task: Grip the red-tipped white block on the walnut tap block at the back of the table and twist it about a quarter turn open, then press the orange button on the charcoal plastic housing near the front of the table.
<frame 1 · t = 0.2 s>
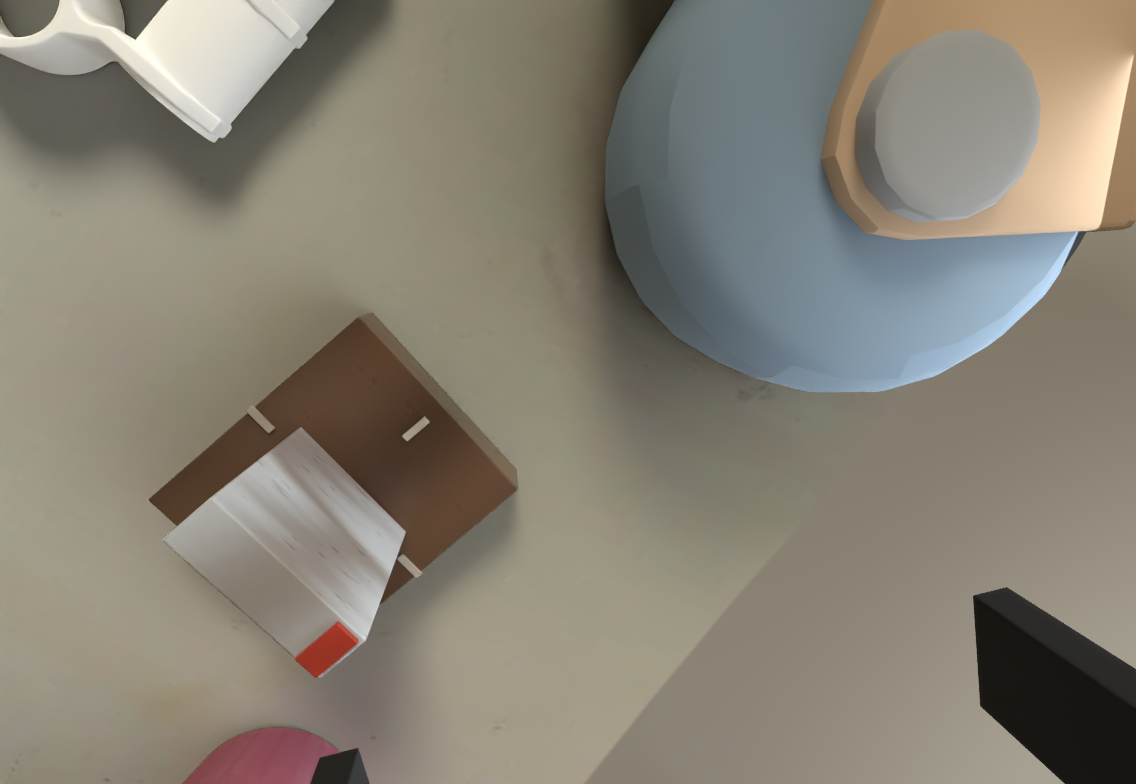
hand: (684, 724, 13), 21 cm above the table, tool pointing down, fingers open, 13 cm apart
red-tipped white block: (307, 536, 25), point 8 cm above the table, hinge at 0.0°
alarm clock: (789, 179, 32), on the table
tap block: (353, 474, 32), on the table
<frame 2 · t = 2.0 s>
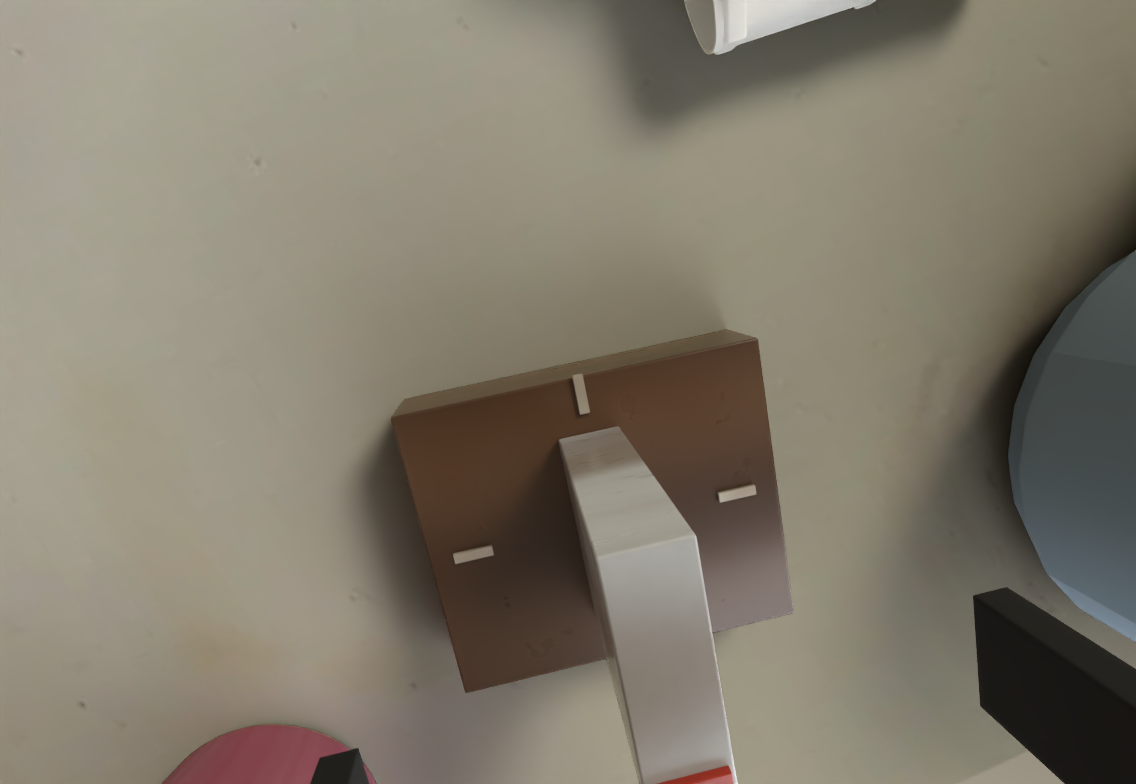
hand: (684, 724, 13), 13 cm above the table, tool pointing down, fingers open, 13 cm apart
red-tipped white block: (632, 588, 18), point 8 cm above the table, hinge at 0.0°
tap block: (594, 492, 25), on the table
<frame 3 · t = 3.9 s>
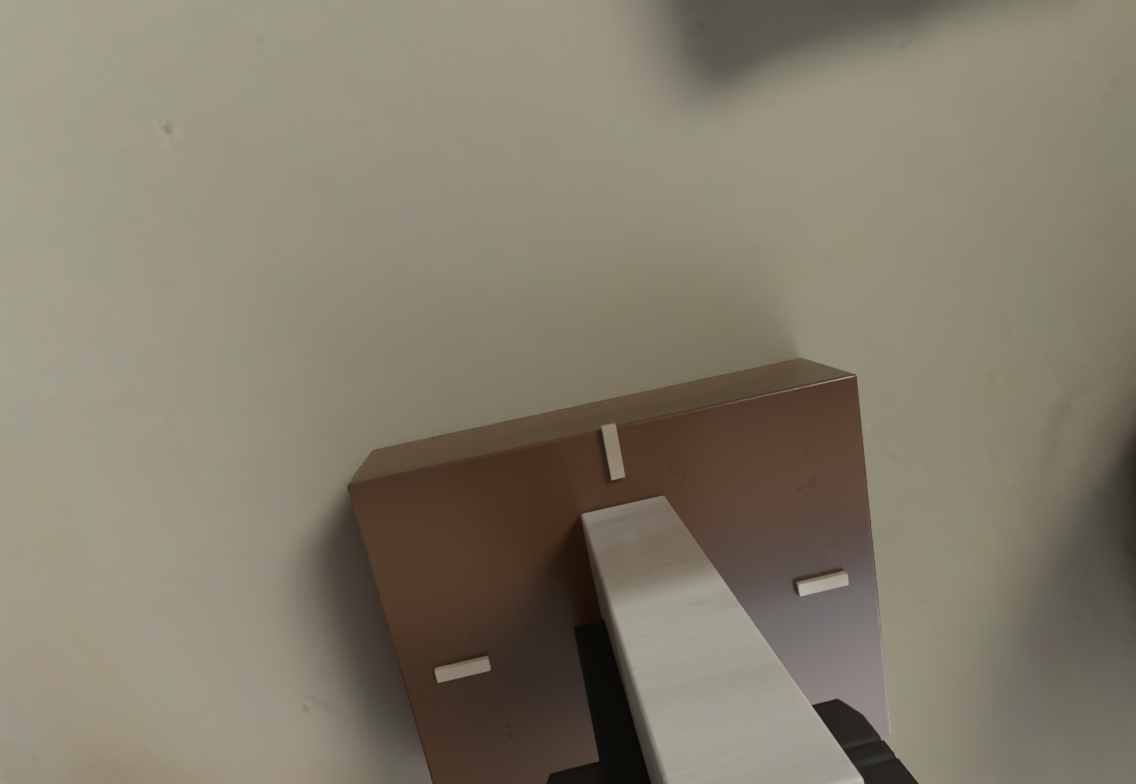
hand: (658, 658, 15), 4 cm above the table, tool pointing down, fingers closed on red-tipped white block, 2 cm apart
red-tipped white block: (699, 760, 12), point 8 cm above the table, hinge at 0.2°, touching gripper
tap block: (623, 570, 19), on the table
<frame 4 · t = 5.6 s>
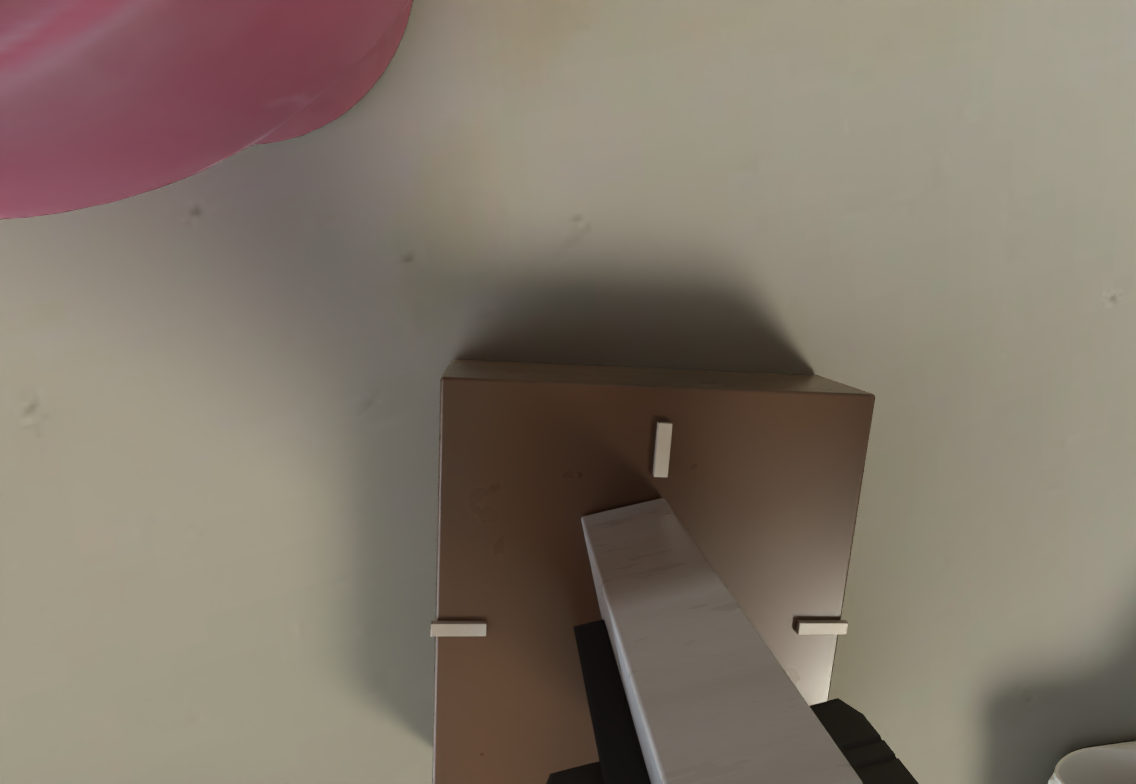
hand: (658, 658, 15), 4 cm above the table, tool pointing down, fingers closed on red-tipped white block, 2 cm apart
red-tipped white block: (699, 762, 12), point 8 cm above the table, hinge at 104.8°, touching gripper
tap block: (624, 572, 19), on the table
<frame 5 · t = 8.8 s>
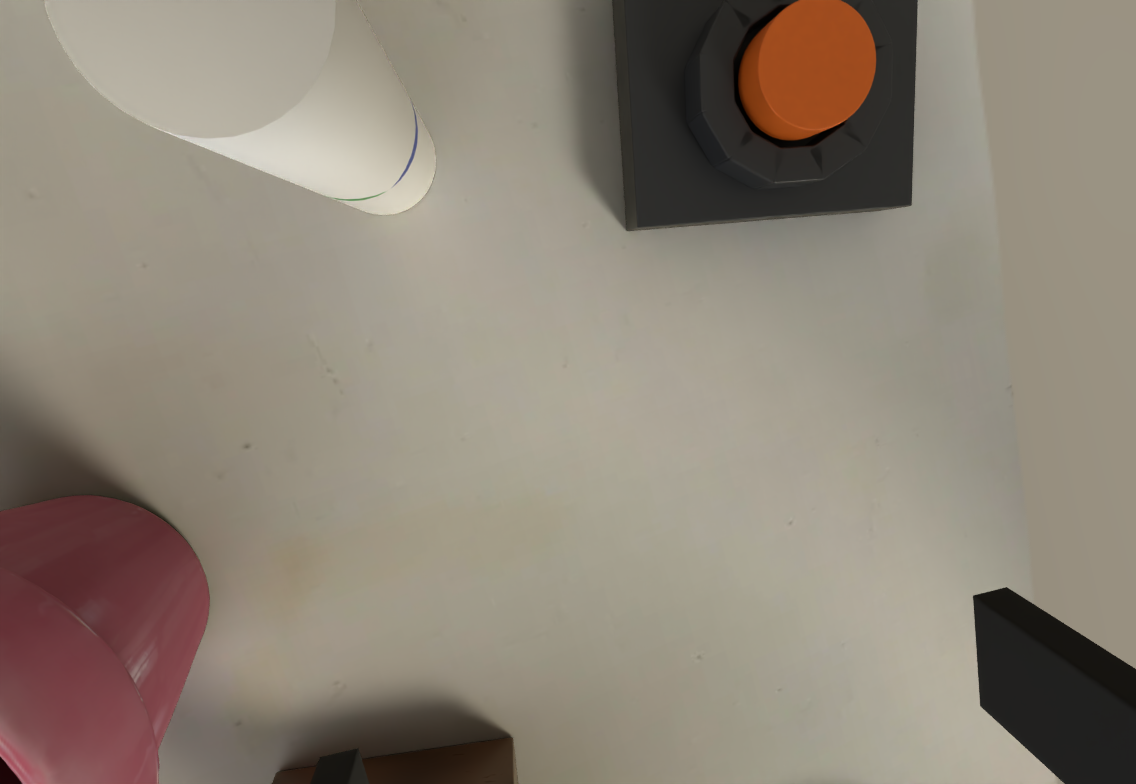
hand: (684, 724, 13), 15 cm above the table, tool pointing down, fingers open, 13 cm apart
button box: (752, 106, 25), on the table
button: (804, 72, 21), point 4 cm above the table, slide at 0.1 cm
flower pot: (101, 593, 27), on the table
tube: (381, 158, 24), on the table
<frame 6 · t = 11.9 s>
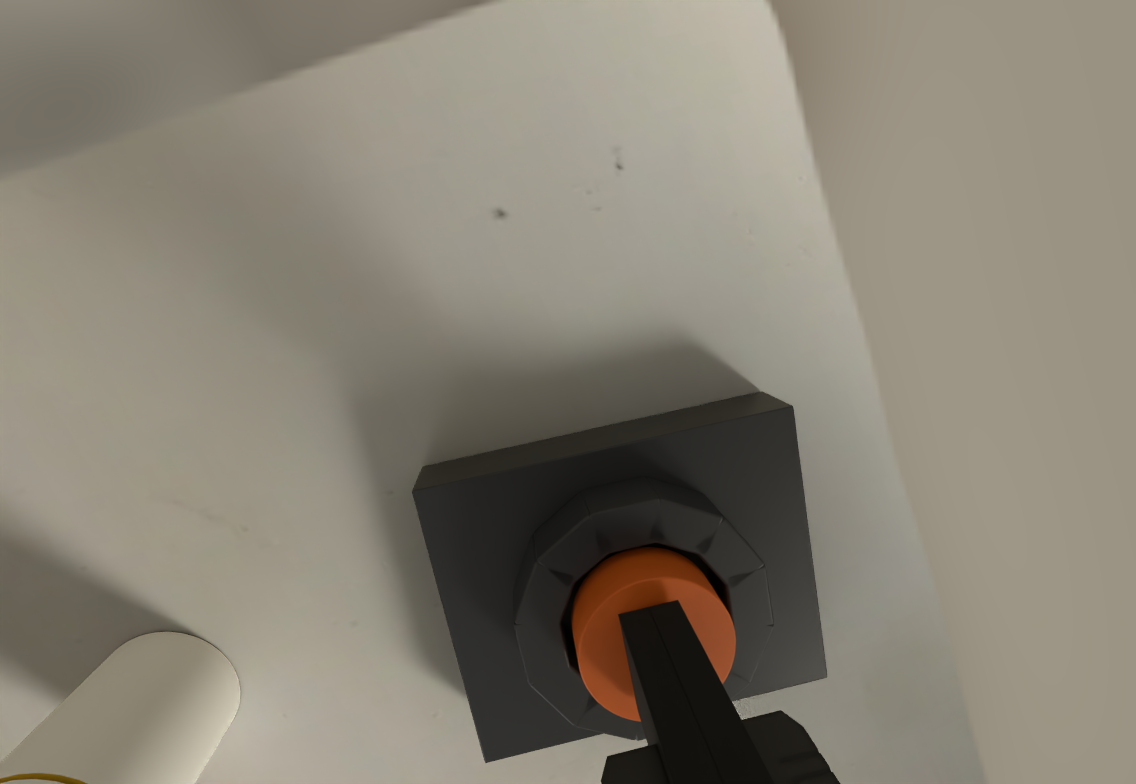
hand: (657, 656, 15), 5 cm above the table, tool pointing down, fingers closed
button box: (620, 557, 20), on the table
button: (650, 632, 16), point 4 cm above the table, slide at -0.1 cm, touching gripper
tube: (173, 688, 20), on the table
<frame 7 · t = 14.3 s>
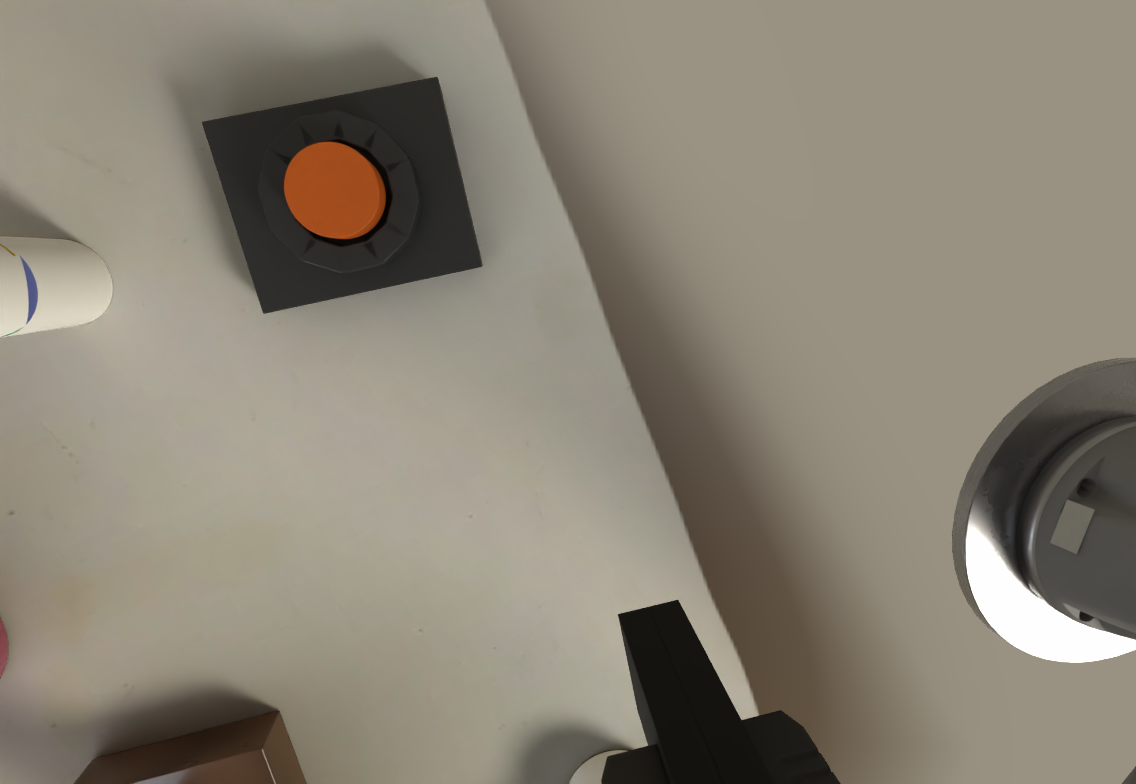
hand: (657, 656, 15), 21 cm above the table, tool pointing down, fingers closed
button box: (357, 201, 32), on the table
button: (336, 192, 28), point 4 cm above the table, slide at 0.1 cm
tube: (69, 282, 31), on the table
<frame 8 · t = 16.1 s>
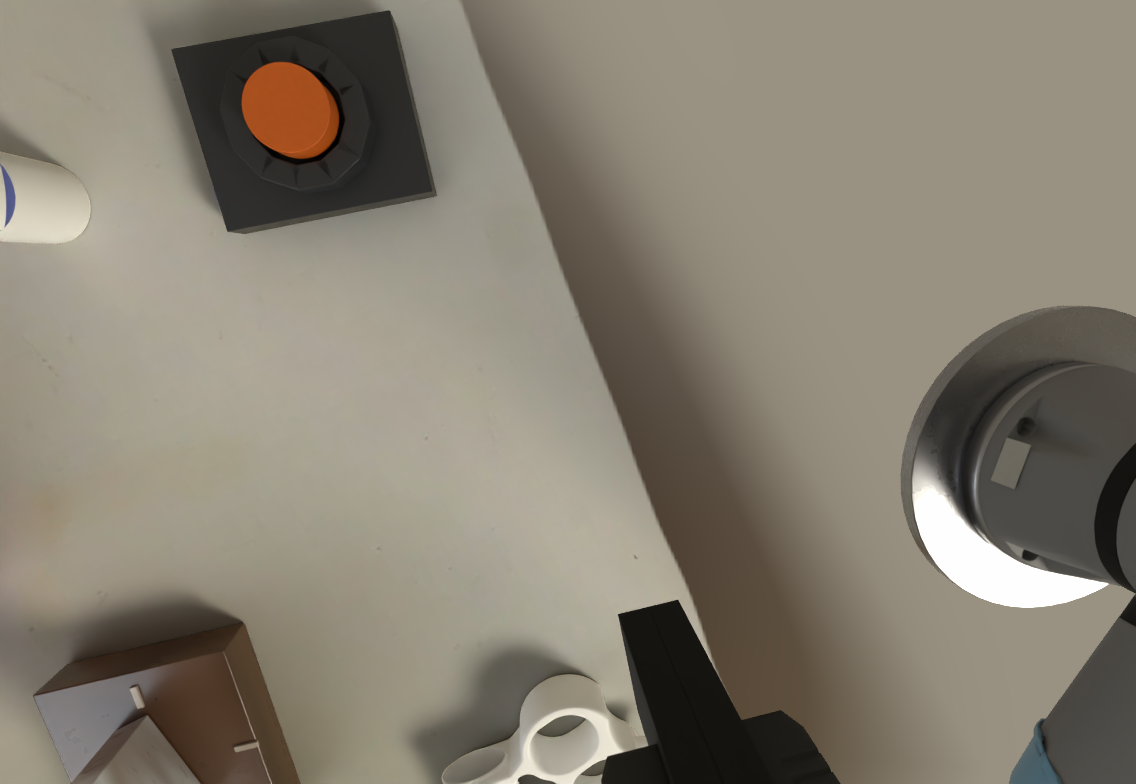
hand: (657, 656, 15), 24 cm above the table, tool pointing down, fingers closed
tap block: (190, 729, 40), on the table
button box: (319, 132, 34), on the table
button: (292, 112, 30), point 4 cm above the table, slide at 0.1 cm
tube: (50, 203, 34), on the table
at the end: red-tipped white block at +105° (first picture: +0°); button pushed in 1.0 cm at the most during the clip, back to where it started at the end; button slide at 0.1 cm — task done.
